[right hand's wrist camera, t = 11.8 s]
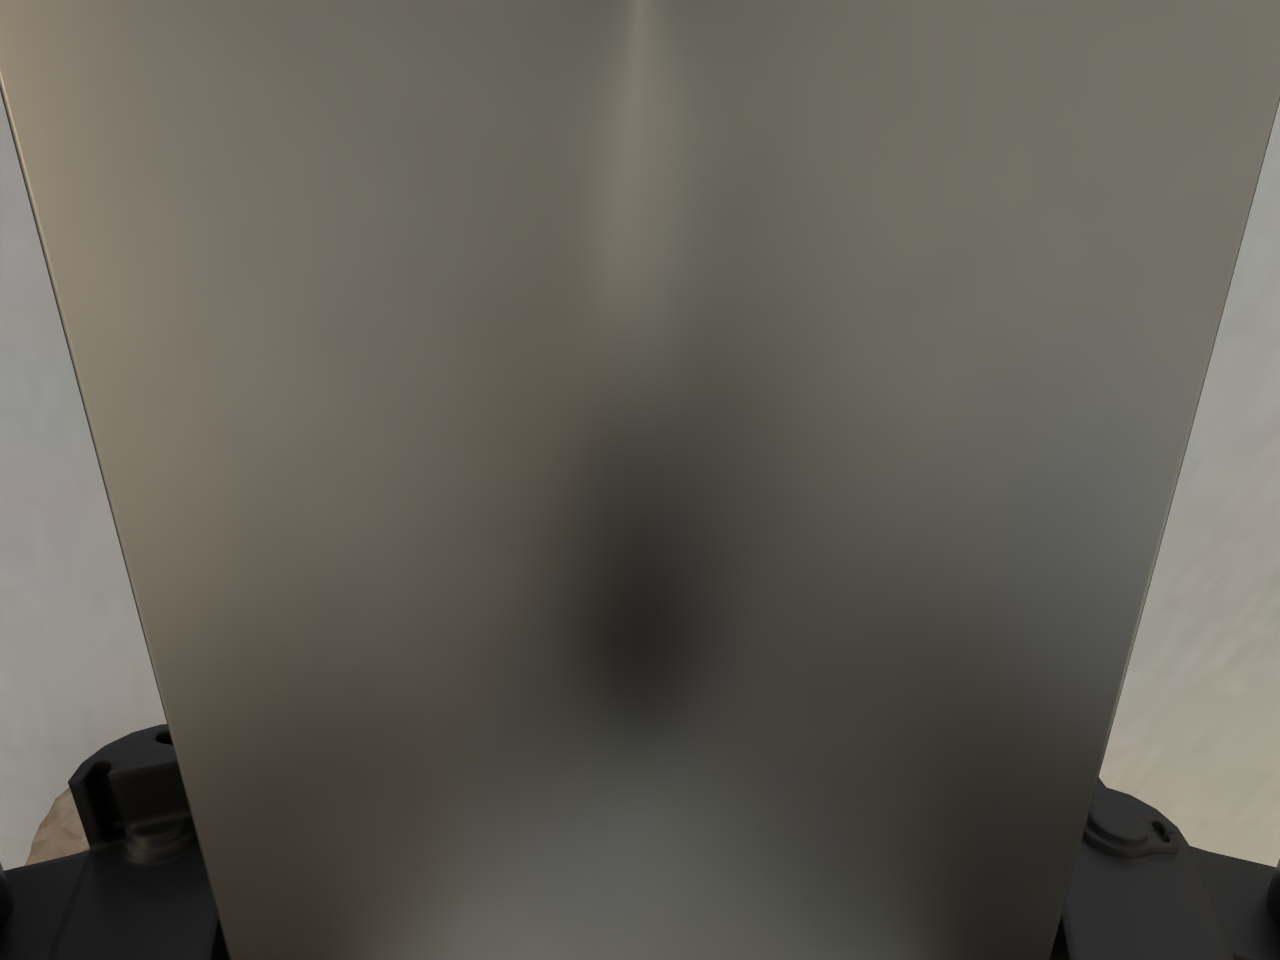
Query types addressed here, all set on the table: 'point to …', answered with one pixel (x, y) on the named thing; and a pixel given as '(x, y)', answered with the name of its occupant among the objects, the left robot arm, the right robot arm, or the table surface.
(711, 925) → the box
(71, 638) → the table surface
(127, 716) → the table surface
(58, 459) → the table surface
